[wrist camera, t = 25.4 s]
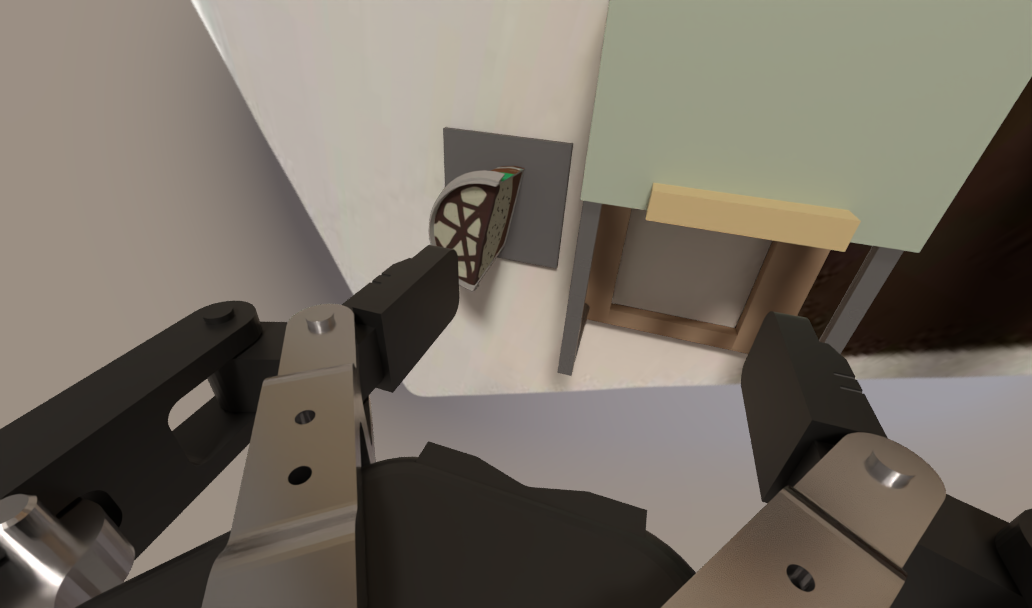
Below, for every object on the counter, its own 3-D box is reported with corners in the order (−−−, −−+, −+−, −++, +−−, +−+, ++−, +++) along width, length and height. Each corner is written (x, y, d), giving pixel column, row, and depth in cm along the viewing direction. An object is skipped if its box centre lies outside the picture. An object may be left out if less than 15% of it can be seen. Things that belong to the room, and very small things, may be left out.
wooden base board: (1027, -163, 26) (1045, -172, 25) (771, 351, 48) (774, 359, 47) (645, -154, 31) (644, -162, 30) (572, 309, 53) (569, 315, 52)
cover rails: (1017, -148, 25) (1213, -253, 16) (768, 354, 47) (793, 430, 37) (652, -142, 30) (647, -222, 21) (576, 313, 51) (557, 372, 42)
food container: (474, 135, 45) (431, 156, 36) (528, 154, 44) (497, 180, 36) (456, 237, 52) (416, 274, 44) (502, 255, 51) (471, 295, 43)
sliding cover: (1135, -114, 18) (1208, -138, 16) (911, 246, 27) (935, 266, 25) (628, -113, 23) (623, -131, 20) (582, 196, 32) (575, 208, 30)
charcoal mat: (573, 143, 43) (572, 144, 42) (557, 266, 50) (556, 268, 50) (445, 127, 46) (443, 128, 45) (449, 245, 53) (446, 247, 53)
